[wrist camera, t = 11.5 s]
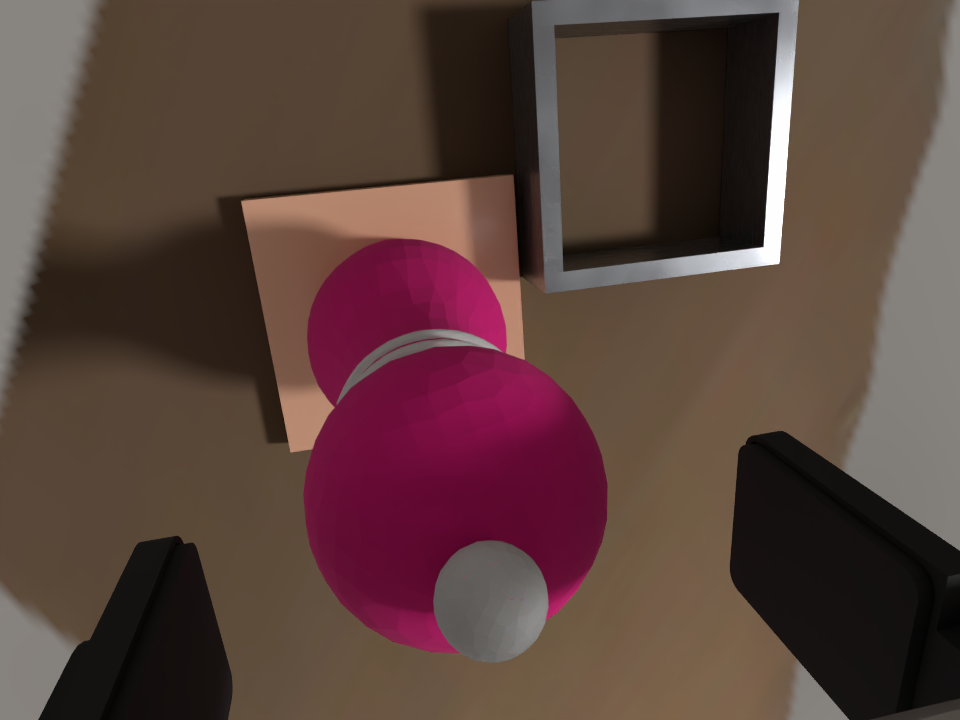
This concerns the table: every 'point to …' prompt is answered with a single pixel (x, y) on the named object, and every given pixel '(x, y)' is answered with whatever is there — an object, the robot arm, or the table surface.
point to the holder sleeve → (746, 142)
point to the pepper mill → (443, 460)
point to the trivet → (350, 227)
